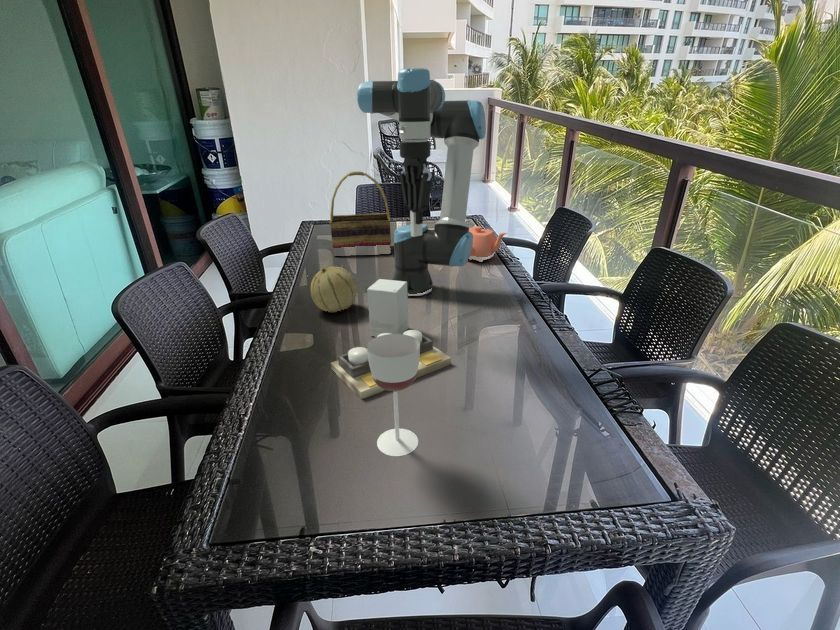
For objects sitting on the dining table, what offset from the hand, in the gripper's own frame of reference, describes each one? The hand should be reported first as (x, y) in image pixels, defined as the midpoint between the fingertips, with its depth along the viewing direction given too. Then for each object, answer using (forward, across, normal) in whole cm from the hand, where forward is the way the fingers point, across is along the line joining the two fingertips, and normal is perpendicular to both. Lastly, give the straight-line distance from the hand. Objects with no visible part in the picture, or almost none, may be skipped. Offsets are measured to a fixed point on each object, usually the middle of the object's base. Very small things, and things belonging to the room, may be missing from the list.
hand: (416, 235), depth 122 cm
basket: (+30, -82, +26) cm, 91 cm away
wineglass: (+30, +36, -30) cm, 55 cm away
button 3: (+27, +9, -8) cm, 29 cm away
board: (+29, +11, -16) cm, 35 cm away
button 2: (+25, +9, -16) cm, 31 cm away
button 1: (+27, +9, -24) cm, 37 cm away
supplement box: (+30, -6, -6) cm, 31 cm away
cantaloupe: (+30, -30, -12) cm, 44 cm away
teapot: (+30, -42, +60) cm, 79 cm away
